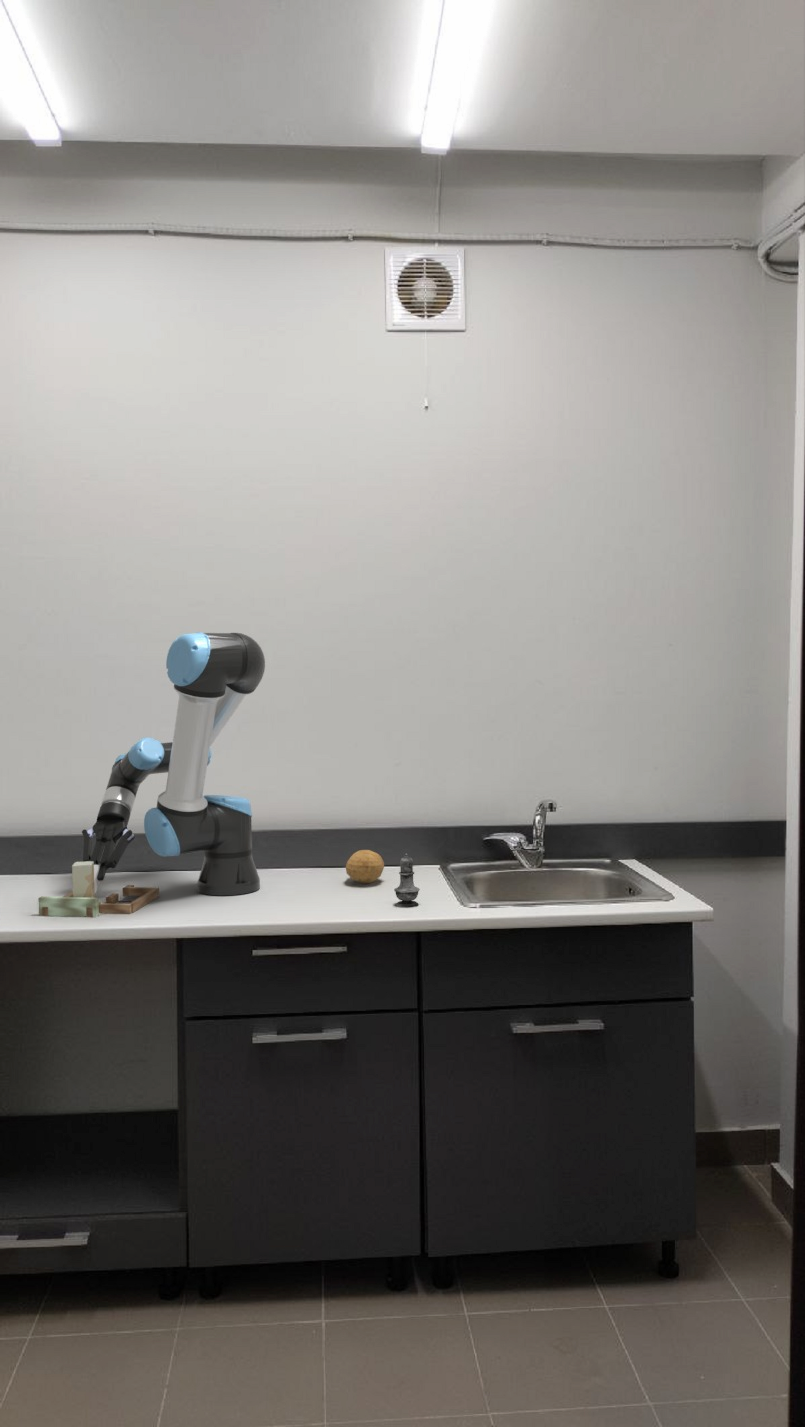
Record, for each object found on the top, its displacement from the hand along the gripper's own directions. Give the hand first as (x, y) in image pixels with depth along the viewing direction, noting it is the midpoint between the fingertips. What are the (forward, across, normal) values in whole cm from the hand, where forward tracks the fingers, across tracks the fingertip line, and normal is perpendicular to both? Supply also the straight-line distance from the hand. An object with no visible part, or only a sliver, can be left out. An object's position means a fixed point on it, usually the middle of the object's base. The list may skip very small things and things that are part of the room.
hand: (90, 891), depth 259 cm
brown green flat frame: (+2, -3, -2) cm, 4 cm away
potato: (-17, -60, -22) cm, 66 cm away
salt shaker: (-1, -74, -5) cm, 74 cm away
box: (+8, -2, +3) cm, 8 cm away
